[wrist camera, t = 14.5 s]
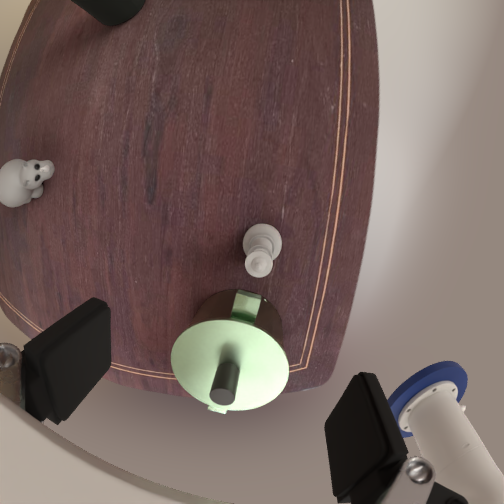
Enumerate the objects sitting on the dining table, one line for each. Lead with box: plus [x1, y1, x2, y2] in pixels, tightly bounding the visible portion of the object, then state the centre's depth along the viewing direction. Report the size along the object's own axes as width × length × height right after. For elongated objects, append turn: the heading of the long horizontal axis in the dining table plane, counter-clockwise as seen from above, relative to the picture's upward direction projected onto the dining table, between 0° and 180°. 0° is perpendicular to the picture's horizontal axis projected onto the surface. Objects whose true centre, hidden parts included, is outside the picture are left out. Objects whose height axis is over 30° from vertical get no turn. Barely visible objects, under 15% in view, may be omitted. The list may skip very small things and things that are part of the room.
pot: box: [189, 289, 284, 414], centre depth 31 cm, size 11×17×8 cm
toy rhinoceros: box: [0, 159, 55, 207], centre depth 27 cm, size 7×12×8 cm, turn 95°
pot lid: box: [171, 318, 289, 410], centre depth 25 cm, size 12×12×5 cm
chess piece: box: [243, 224, 282, 277], centre depth 27 cm, size 4×4×10 cm
